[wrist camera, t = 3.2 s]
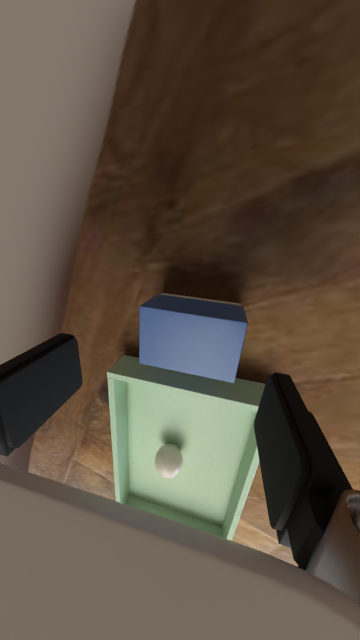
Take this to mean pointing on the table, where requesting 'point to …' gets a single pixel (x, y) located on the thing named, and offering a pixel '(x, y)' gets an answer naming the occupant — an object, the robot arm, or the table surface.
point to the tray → (183, 443)
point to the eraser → (192, 335)
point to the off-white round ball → (168, 460)
